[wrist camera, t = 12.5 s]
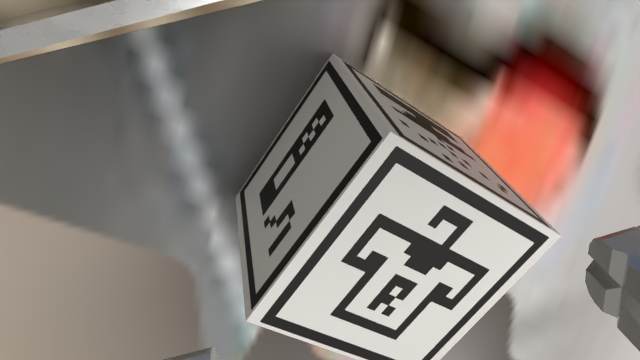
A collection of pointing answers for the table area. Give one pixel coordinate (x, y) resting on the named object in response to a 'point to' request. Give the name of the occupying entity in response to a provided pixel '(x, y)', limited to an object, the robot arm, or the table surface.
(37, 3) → the plate
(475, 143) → the table surface
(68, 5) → the silver rectangular frame
